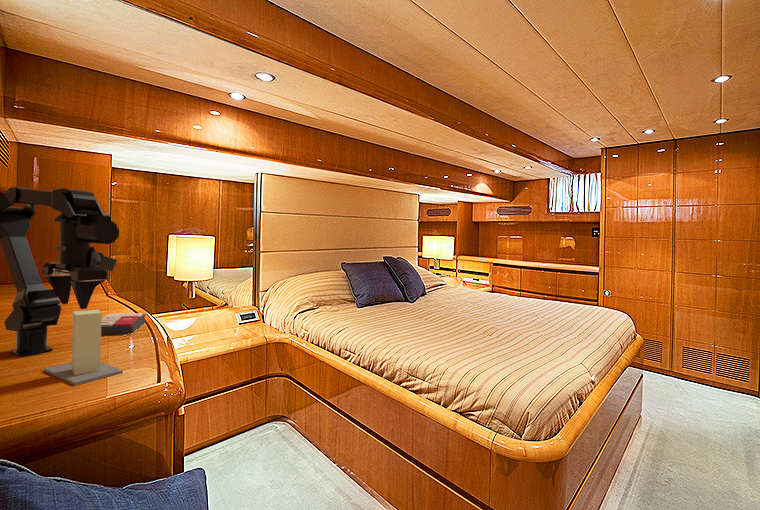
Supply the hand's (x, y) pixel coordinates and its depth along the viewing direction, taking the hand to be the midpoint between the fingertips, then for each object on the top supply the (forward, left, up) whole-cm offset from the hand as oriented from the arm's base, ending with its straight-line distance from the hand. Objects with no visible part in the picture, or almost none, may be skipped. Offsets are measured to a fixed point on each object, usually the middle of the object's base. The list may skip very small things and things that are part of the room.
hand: (74, 306), depth 91 cm
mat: (+11, -2, -13) cm, 17 cm away
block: (+12, -2, -12) cm, 17 cm away
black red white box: (-22, +22, -14) cm, 34 cm away
